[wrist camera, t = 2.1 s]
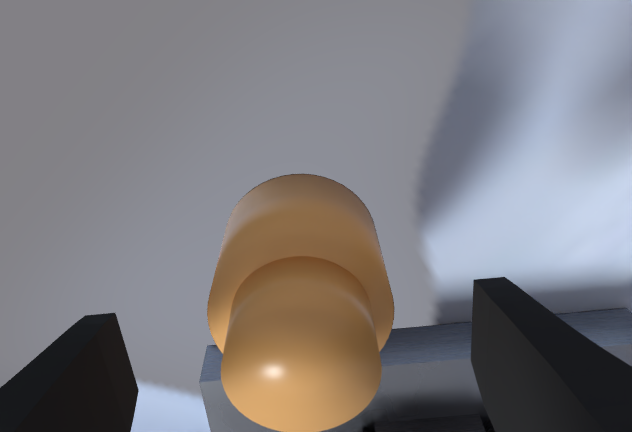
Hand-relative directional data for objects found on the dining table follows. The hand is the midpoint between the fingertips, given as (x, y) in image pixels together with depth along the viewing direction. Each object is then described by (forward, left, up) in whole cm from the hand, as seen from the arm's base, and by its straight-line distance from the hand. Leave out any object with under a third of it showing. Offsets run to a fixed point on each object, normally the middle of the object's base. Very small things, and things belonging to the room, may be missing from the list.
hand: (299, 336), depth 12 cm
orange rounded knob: (0, 0, -4) cm, 4 cm away
